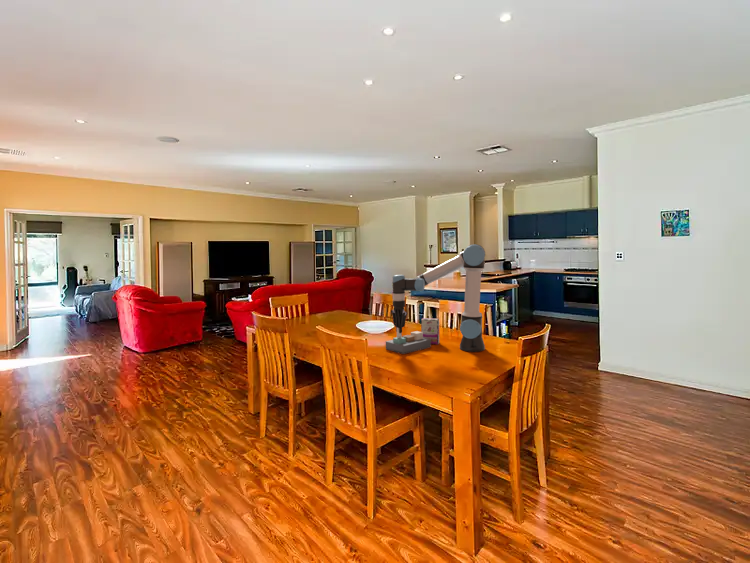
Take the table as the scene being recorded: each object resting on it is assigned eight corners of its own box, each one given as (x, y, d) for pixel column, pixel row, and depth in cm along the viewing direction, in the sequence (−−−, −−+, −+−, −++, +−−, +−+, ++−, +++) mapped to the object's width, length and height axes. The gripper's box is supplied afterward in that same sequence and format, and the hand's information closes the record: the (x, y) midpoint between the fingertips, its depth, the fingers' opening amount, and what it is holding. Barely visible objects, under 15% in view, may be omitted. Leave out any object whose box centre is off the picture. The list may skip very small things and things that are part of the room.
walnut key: (414, 343, 255) (414, 336, 254) (408, 344, 251) (408, 337, 251) (408, 341, 259) (408, 334, 259) (402, 343, 256) (402, 336, 255)
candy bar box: (439, 342, 267) (439, 318, 265) (438, 344, 262) (437, 319, 261) (423, 341, 271) (422, 317, 269) (421, 343, 266) (421, 319, 264)
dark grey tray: (430, 347, 257) (430, 339, 256) (402, 354, 242) (402, 346, 241) (413, 342, 269) (413, 335, 269) (385, 349, 254) (385, 341, 254)
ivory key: (422, 339, 259) (422, 332, 259) (416, 340, 256) (416, 333, 255) (416, 337, 264) (416, 331, 263) (410, 339, 260) (410, 332, 260)
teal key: (405, 345, 250) (405, 338, 250) (399, 346, 247) (399, 339, 246) (399, 343, 254) (399, 336, 254) (393, 345, 251) (393, 338, 251)
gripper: (410, 300, 245) (410, 338, 247) (396, 298, 255) (396, 335, 257) (401, 301, 240) (401, 340, 243) (387, 299, 250) (387, 336, 253)
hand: (399, 337), depth 250 cm, fingers closed
